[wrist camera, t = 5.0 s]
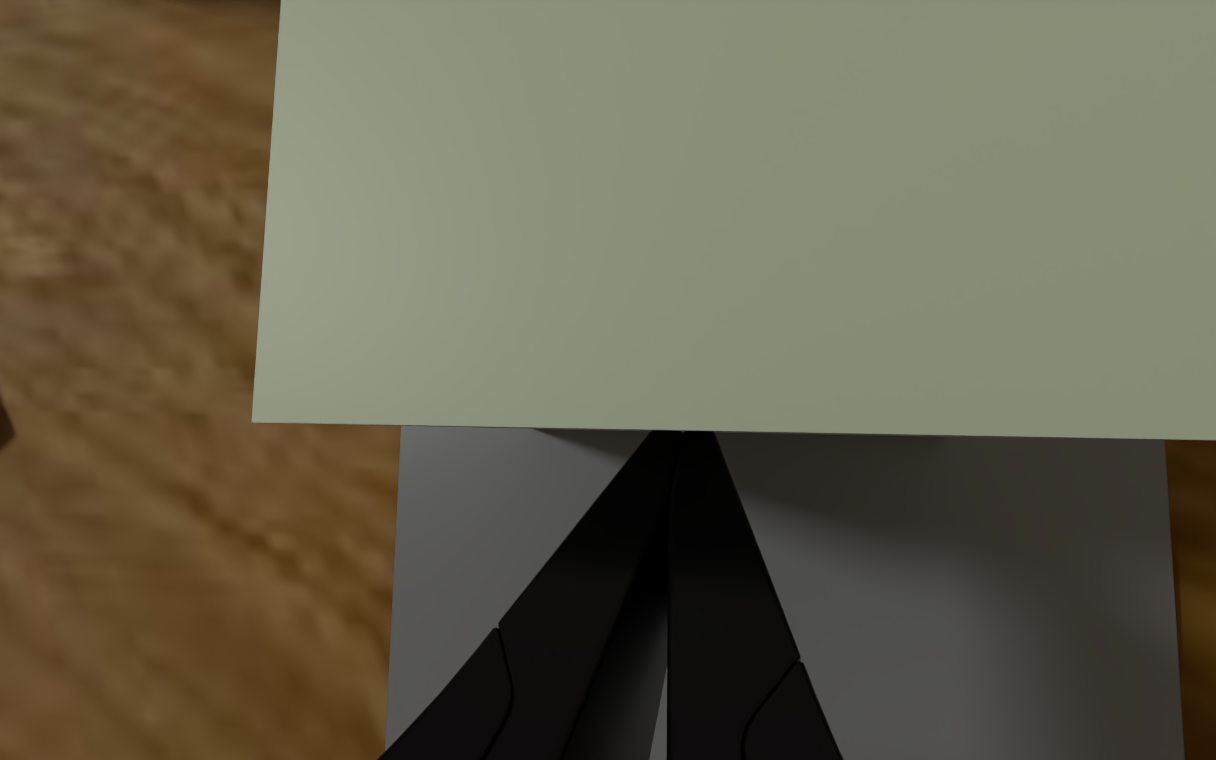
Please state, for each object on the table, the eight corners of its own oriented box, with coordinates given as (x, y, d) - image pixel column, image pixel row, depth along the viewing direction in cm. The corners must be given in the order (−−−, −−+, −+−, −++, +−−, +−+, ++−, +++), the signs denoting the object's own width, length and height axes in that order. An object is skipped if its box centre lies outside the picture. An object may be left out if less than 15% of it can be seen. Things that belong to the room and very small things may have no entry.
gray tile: (1187, 909, 12) (1194, 918, 12) (388, 762, 16) (384, 766, 16) (1134, 43, 13) (1139, 37, 13) (419, 131, 18) (416, 128, 18)
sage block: (949, 436, 13) (1281, 442, 5) (531, 428, 16) (251, 421, 7) (937, 14, 14) (1199, -638, 6) (542, 71, 17) (303, -315, 8)
